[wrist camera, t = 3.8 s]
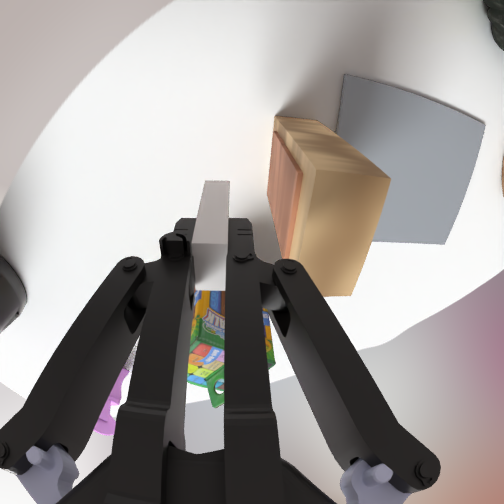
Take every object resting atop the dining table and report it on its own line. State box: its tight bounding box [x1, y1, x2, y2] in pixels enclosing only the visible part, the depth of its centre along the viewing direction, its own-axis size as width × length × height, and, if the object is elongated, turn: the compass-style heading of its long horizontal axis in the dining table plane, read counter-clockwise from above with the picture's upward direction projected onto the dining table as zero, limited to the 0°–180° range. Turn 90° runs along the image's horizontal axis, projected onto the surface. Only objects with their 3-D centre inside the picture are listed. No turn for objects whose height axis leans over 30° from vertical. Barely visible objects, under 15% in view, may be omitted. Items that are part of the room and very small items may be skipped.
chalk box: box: [187, 288, 276, 408], centre depth 30 cm, size 9×9×15 cm
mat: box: [336, 74, 486, 245], centre depth 27 cm, size 20×18×1 cm
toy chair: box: [94, 368, 129, 435], centre depth 42 cm, size 8×9×15 cm
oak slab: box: [267, 116, 391, 297], centre depth 20 cm, size 4×8×14 cm, turn 176°
